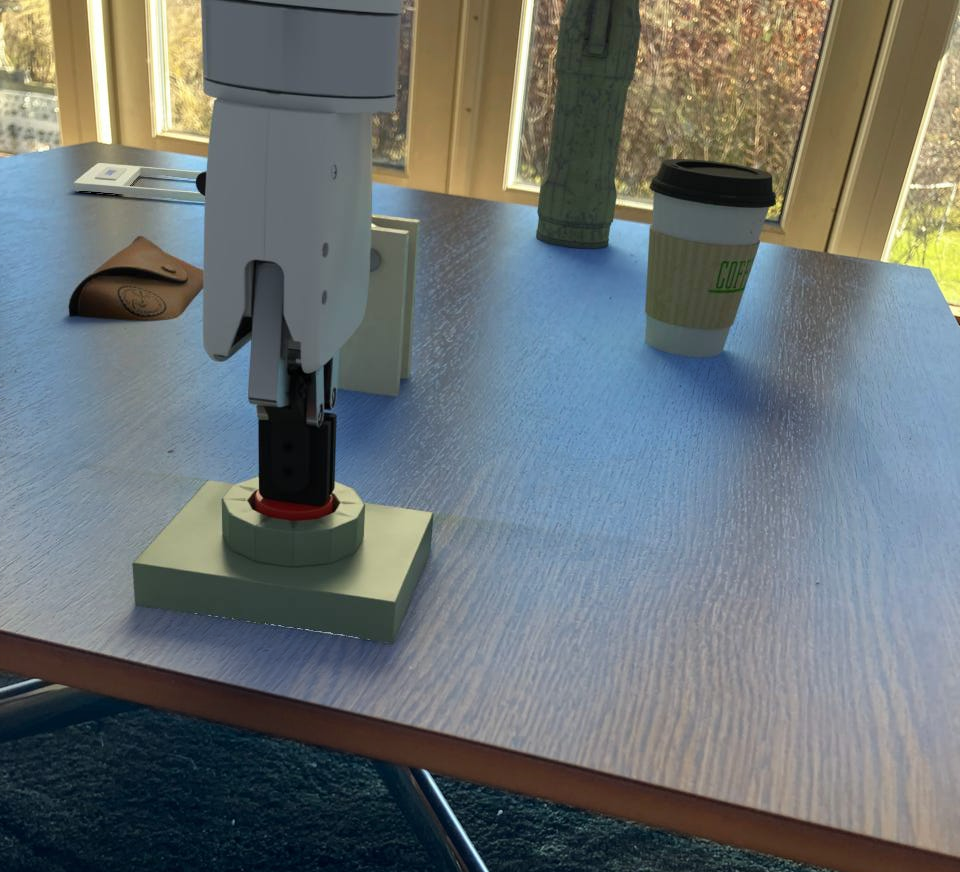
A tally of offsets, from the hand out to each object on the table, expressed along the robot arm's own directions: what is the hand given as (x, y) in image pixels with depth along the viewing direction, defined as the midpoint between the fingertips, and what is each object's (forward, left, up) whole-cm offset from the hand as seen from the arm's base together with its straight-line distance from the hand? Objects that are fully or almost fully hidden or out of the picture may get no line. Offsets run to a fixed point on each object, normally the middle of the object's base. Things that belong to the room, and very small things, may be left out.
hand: (297, 495), depth 53 cm
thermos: (+8, +92, -5) cm, 93 cm away
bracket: (-2, +27, -4) cm, 28 cm away
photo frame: (-42, +92, -4) cm, 101 cm away
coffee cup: (+20, +47, -5) cm, 51 cm away
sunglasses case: (-24, +42, -5) cm, 48 cm away
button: (0, 0, -2) cm, 2 cm away
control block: (0, 0, -4) cm, 4 cm away
